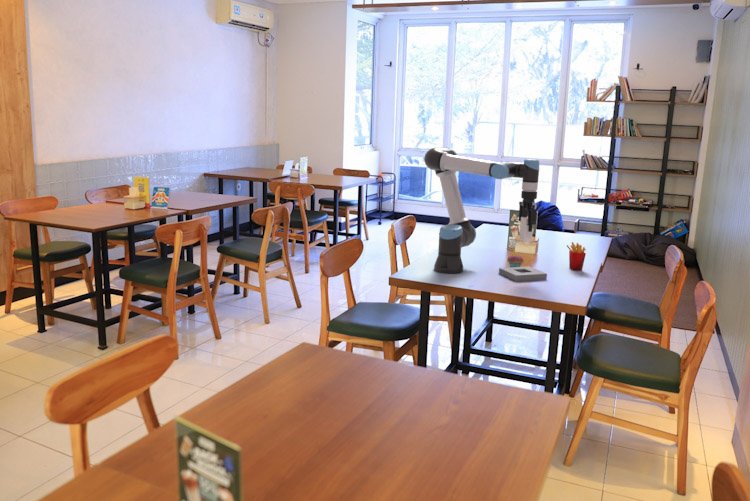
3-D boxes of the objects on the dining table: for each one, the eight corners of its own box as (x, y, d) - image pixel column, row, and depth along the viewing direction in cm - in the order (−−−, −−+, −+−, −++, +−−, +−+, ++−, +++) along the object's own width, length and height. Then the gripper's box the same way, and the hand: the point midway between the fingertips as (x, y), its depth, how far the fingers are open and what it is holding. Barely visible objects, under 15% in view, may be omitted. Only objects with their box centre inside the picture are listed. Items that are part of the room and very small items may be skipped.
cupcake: (513, 270, 338) (515, 248, 335) (503, 267, 345) (505, 245, 343) (526, 269, 342) (528, 247, 339) (515, 266, 349) (517, 244, 347)
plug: (523, 242, 319) (525, 218, 317) (519, 240, 323) (521, 216, 321) (531, 241, 321) (533, 218, 318) (526, 240, 325) (528, 216, 322)
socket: (515, 281, 316) (515, 275, 315) (498, 273, 330) (499, 267, 330) (546, 279, 322) (547, 273, 321) (528, 271, 336) (529, 266, 336)
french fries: (578, 268, 349) (581, 241, 346) (585, 271, 342) (588, 244, 338) (563, 268, 348) (566, 241, 345) (570, 271, 340) (573, 244, 337)
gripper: (546, 192, 310) (542, 239, 315) (526, 188, 326) (522, 233, 331) (532, 192, 307) (528, 240, 312) (513, 188, 324) (510, 234, 328)
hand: (525, 236), depth 321 cm, fingers closed on plug, 4 cm apart
